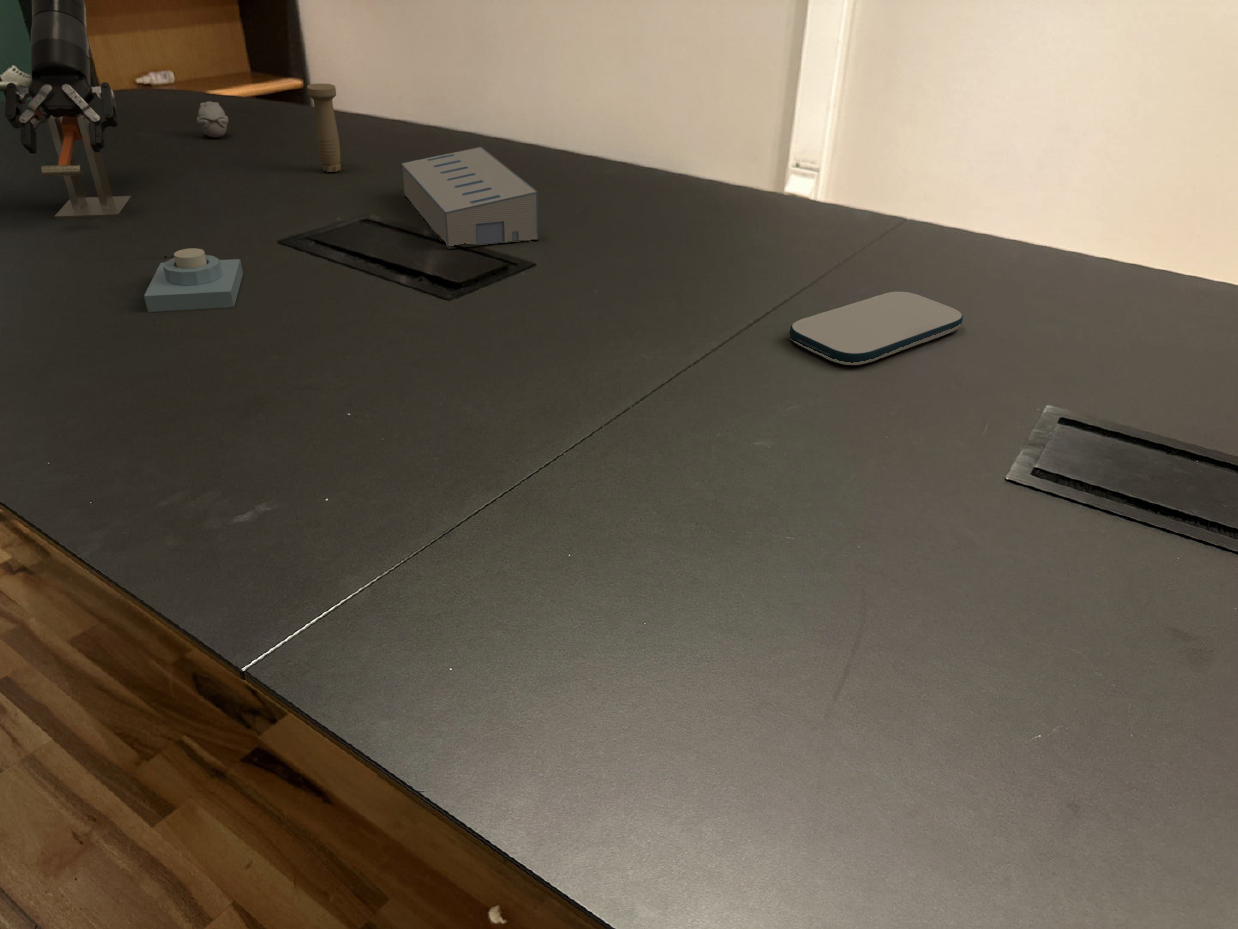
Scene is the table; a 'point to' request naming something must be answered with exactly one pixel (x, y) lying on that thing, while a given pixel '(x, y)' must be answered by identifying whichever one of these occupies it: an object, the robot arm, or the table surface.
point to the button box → (194, 286)
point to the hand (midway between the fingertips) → (63, 150)
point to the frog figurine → (212, 119)
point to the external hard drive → (874, 326)
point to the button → (190, 258)
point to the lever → (66, 150)
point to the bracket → (78, 202)
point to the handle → (326, 125)
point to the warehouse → (471, 198)
